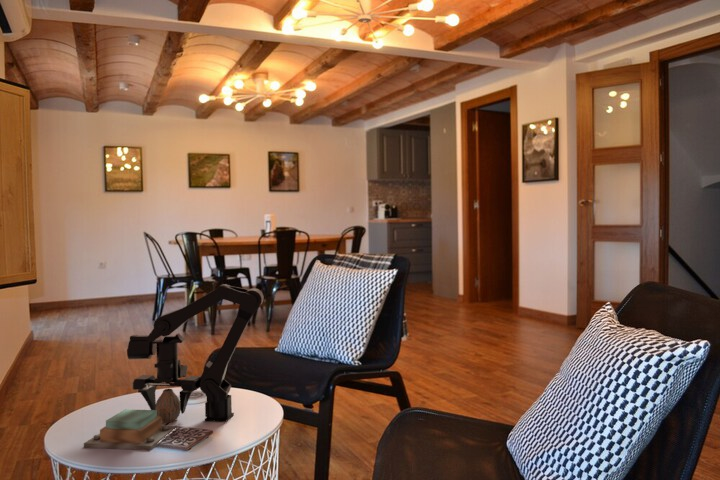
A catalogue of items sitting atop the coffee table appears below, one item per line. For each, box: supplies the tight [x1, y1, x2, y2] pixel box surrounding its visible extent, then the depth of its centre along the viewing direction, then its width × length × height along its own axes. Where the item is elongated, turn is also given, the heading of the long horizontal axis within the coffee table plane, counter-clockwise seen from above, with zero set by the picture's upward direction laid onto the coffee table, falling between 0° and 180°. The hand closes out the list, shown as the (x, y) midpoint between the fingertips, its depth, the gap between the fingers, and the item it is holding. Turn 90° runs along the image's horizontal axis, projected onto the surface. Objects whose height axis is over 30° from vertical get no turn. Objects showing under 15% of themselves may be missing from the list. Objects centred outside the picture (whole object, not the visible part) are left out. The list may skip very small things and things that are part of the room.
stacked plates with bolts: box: [83, 408, 178, 451], centre depth 146 cm, size 18×14×6 cm
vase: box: [155, 388, 181, 423], centre depth 160 cm, size 7×7×9 cm
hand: (168, 412), depth 160 cm, fingers open, 8 cm apart
